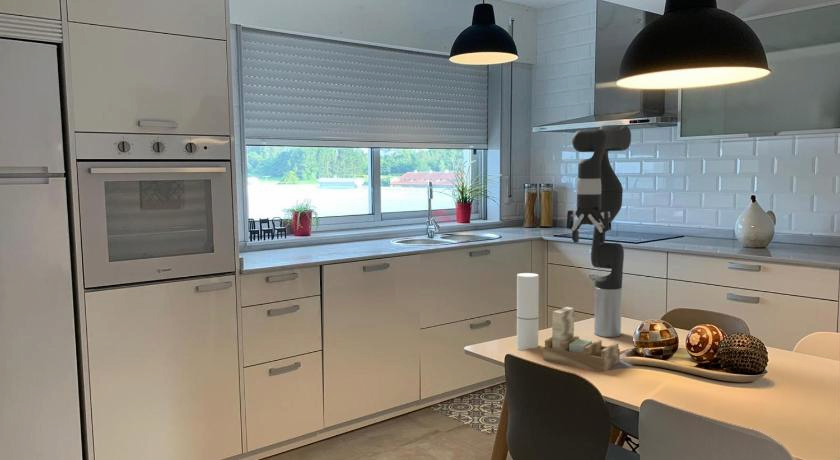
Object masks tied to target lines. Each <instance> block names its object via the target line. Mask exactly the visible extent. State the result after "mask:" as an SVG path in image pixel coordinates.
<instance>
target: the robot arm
mask: <svg viewBox="0 0 840 460" xmlns="http://www.w3.org/2000/svg"><path fill="white" fill-rule="evenodd" d="M571 142H572V143H571V144H572V147H573V148H574V150H576V152H578V153H593V154H592V155H591V157H589V158H586V159H585V158H584V159H582V160H579V162H578V165H577V184H576V185H577V186H576V210H574V209H570V210H567V215H566V216H567V217H566V229H569V230H570V231H571V232H572V234H571V235H572V236H571V240H572V241H573V243H575V244H576V243H579V238H580V237H579V236H580V235H579V233H580V232H579V228H580V227H581V226H582V225H591V226H592V225H593V226H594V227H593V233H592V234H593V235H592V241H591V251H590V261H591V266H593V267H594V268H598V269H608V270H609V269H610V273H609V274H607V275H604V276H599V277H598V278H596V279H595V281H594V287H595V288H594V330H593V331H594V335H596V336H598V337H604V338H616V337H617V338H618V337H620V336H621V335H622V304H623V303H622V299H623V297H622V291H623V289H622V287H623V275H624V274H623V270H624V258H625V257H624V256H625V251H624V246H623V245H622V244H621V243H618V242H606V232H609V231H612V222H613V220H614V219H615V218H616V216H617V215H618V214H619V212H620V210H621V208H622V206H623V191H624V190H623V188H624V187H623V185H622V183H621V181H620V179H619V178H618V176H617V175H616V172H615V171H614V170H613V168H612V165H611V162H610V159H609V158H610V157H609V152H620V151H621V152H622V151H625V150H628V149H629V147H630V146H631V143H632V132H631V129H630V127H629V126H628V125H624V124H610V125H609V124H608V125H607V124H605V125H602V126H600V127H599V128H596V129H595V128H594V129H579V130H577V131H575V133H574V134H573V136H572V139H571ZM575 217H577V220H576V221H575V223H574V219H575Z"/></svg>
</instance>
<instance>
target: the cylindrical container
mask: <svg viewBox="0 0 840 460" xmlns="http://www.w3.org/2000/svg"><path fill="white" fill-rule="evenodd" d="M516 274H517V275H516V349H517V351H521V350H522V351H523V352H524V351H525V350H527V349H530V350H531V349H536V348H538V347H539V312H540V311H539V304H540V303H539V299H540V298H539V294H540V292H539V291H540V289H539V285H540V282H539V281H540V280H539V278H540V277H539V274H537V273H534V272H533V273H532V272H523V273H522V272H521V273H516Z"/></svg>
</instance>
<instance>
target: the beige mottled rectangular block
mask: <svg viewBox="0 0 840 460" xmlns="http://www.w3.org/2000/svg"><path fill="white" fill-rule="evenodd" d="M551 328H552V329H551V331H552V333H551V335H552V336H551V337H552V348H555V349H560V350H561V343H562V342H564V341H566V340H569V339H571V338H573V337H575V334H574V333H575V332H574V331H575V308H574V307H571V306H564V307H562V308H559V309H557V310H555V311H554V310H553V311H552V327H551Z"/></svg>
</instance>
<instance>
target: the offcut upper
mask: <svg viewBox="0 0 840 460" xmlns="http://www.w3.org/2000/svg"><path fill="white" fill-rule="evenodd" d="M591 343H593V340H589V339H588V340H587V339H582V338H579V339H577V340H575V341H573V342H572V343H570V344H569V351H571V352H576V353H581V354H584V347H586V346H588V345H590V344H591Z"/></svg>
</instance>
